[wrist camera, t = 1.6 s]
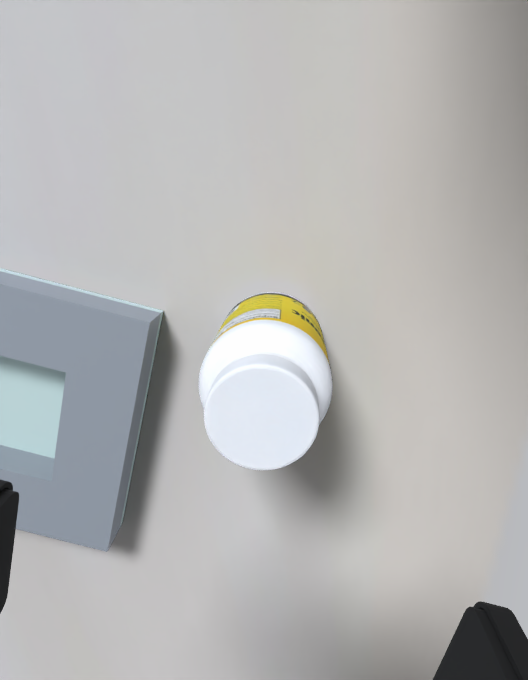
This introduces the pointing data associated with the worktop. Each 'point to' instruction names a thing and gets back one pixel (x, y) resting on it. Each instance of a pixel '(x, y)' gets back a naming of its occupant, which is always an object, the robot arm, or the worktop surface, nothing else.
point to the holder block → (71, 404)
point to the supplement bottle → (266, 382)
